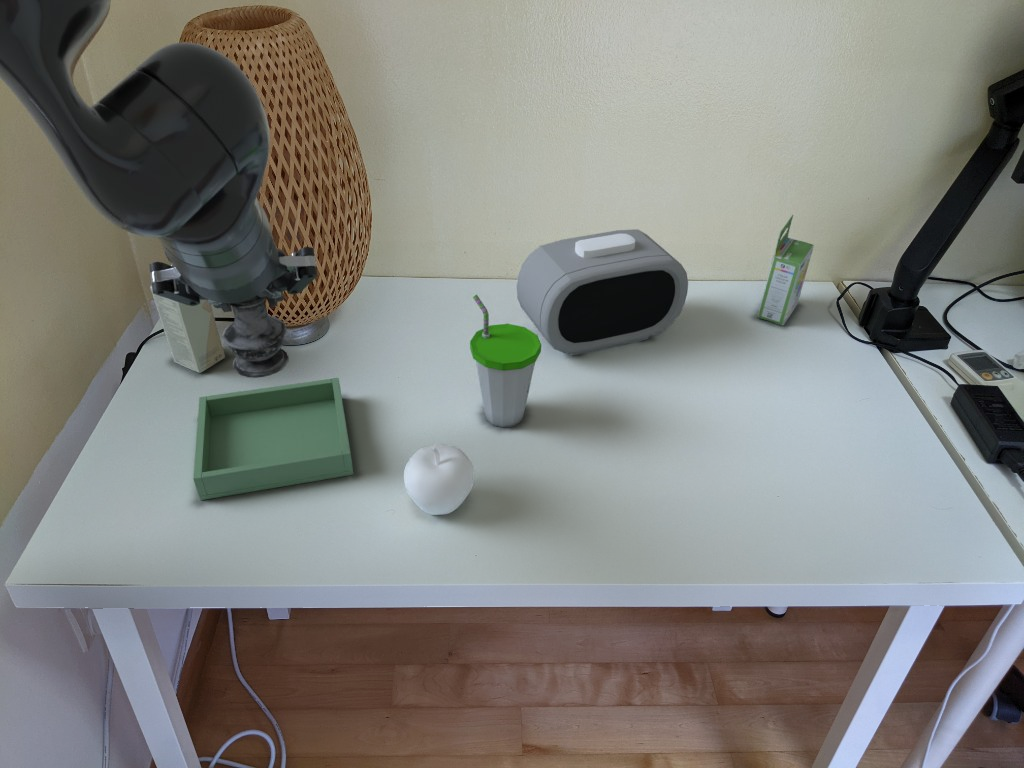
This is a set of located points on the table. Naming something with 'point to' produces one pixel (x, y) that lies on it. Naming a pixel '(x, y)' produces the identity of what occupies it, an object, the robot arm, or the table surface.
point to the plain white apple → (439, 478)
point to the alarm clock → (601, 290)
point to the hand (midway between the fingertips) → (249, 299)
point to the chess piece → (256, 339)
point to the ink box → (785, 278)
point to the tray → (270, 438)
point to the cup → (504, 368)
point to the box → (190, 333)
